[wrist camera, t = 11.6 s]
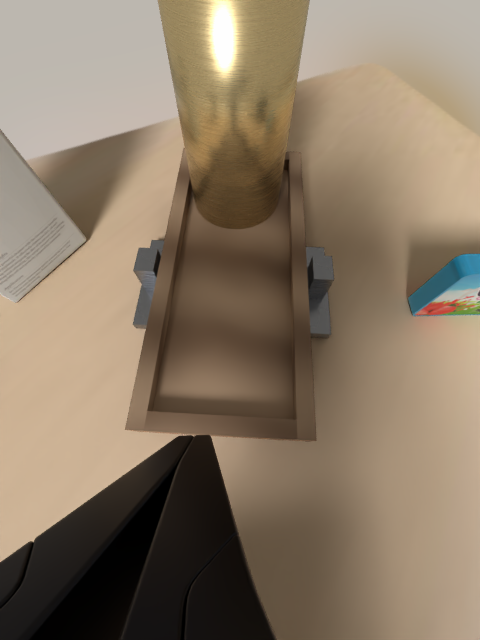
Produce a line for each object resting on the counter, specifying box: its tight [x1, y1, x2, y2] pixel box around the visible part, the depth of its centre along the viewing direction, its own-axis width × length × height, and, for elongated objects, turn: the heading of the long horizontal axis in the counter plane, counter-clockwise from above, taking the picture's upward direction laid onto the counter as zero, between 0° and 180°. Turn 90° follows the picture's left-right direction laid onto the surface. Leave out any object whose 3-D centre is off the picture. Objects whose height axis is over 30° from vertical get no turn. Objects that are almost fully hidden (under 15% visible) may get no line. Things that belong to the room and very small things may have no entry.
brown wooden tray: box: [125, 148, 316, 441], centre depth 21 cm, size 23×10×2 cm, turn 177°
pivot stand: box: [133, 240, 334, 338], centre depth 22 cm, size 8×15×4 cm, turn 87°
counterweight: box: [158, 0, 310, 229], centre depth 17 cm, size 7×7×14 cm
